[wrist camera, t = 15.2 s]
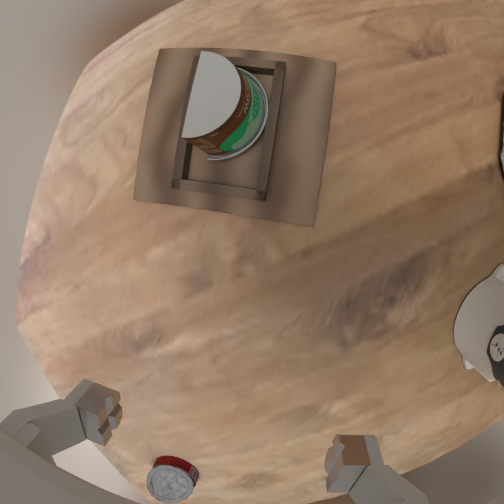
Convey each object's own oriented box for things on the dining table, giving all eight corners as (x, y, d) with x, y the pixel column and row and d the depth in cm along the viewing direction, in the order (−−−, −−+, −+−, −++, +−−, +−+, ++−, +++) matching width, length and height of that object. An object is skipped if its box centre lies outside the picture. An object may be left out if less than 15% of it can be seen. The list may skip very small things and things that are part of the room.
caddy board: (335, 65, 34) (339, 55, 30) (312, 226, 39) (314, 230, 35) (162, 51, 35) (153, 42, 32) (136, 199, 40) (124, 201, 37)
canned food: (161, 450, 57) (132, 463, 48) (193, 446, 54) (164, 463, 45) (179, 489, 54) (152, 506, 45) (212, 488, 51) (187, 509, 42)
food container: (264, 40, 24) (278, 75, 33) (204, 38, 25) (231, 71, 34) (240, 161, 27) (260, 168, 36) (178, 152, 28) (213, 161, 37)
